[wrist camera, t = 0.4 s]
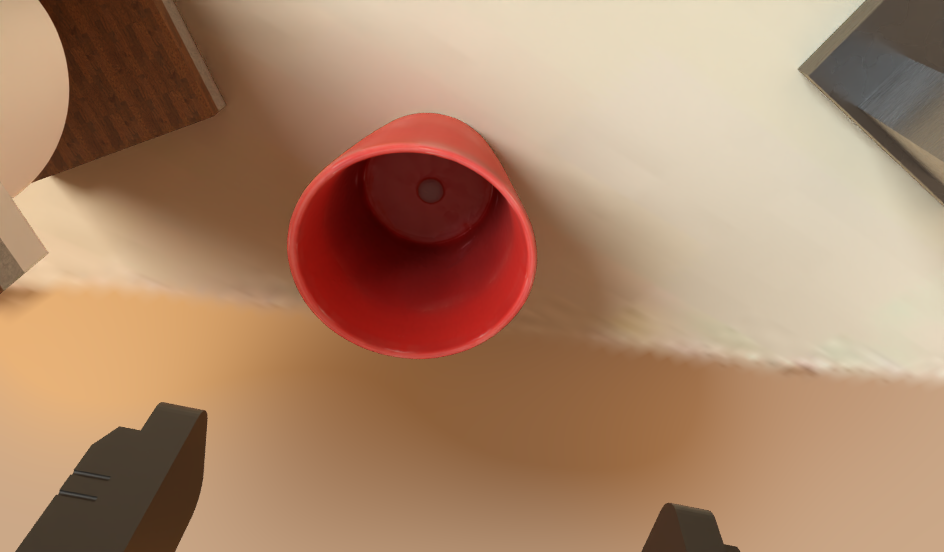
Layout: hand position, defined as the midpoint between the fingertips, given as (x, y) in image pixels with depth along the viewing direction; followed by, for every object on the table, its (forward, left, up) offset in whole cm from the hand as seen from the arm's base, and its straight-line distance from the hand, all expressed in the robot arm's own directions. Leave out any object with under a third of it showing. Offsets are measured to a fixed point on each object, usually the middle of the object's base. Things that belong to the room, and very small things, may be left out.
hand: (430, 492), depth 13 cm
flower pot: (+6, -1, -30) cm, 30 cm away
